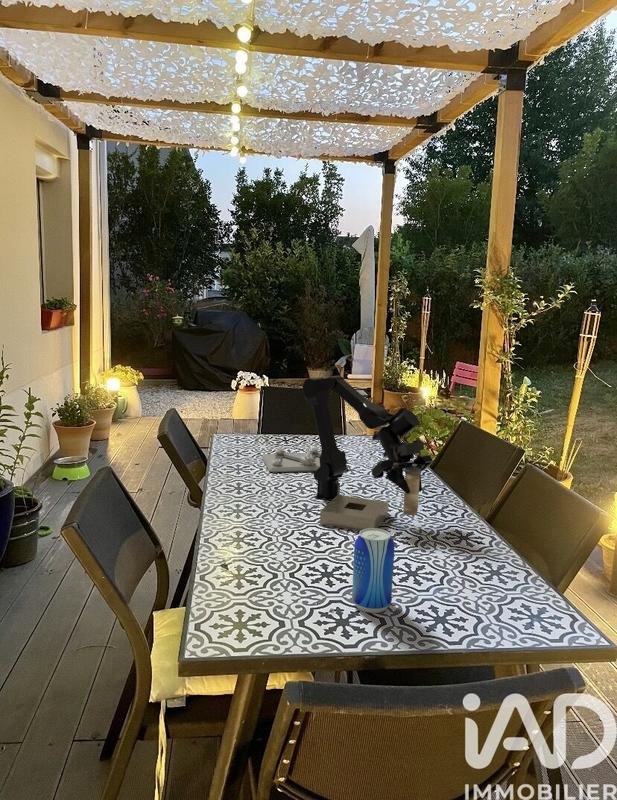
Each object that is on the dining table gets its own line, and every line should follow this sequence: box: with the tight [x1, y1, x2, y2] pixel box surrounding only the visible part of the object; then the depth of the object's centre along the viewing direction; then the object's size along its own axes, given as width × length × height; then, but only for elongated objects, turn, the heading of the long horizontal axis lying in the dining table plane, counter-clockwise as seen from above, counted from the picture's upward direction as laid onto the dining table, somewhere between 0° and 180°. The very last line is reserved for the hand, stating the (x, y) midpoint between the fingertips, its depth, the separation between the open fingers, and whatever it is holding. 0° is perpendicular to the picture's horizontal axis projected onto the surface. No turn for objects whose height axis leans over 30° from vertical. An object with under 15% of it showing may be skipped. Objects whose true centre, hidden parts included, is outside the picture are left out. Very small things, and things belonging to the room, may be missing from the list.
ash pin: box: [402, 467, 422, 516], centre depth 178 cm, size 5×5×13 cm
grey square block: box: [319, 494, 389, 532], centre depth 185 cm, size 16×16×4 cm
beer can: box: [351, 528, 395, 614], centre depth 133 cm, size 8×8×16 cm
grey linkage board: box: [261, 445, 349, 474], centre depth 242 cm, size 30×22×7 cm
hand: (414, 492), depth 177 cm, fingers closed on ash pin, 4 cm apart
